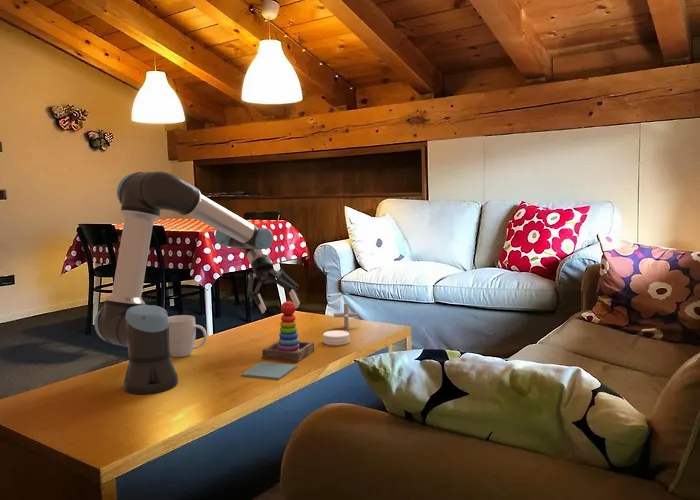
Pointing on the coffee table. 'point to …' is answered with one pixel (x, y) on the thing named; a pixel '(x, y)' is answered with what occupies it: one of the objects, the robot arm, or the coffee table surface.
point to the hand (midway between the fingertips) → (281, 308)
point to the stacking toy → (288, 329)
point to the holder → (288, 352)
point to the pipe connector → (346, 315)
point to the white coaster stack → (336, 337)
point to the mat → (269, 370)
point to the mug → (183, 335)
